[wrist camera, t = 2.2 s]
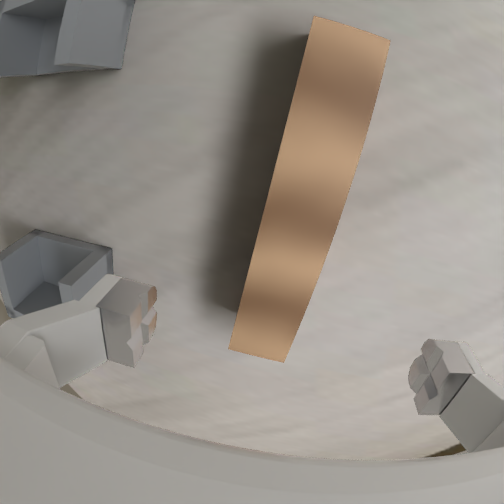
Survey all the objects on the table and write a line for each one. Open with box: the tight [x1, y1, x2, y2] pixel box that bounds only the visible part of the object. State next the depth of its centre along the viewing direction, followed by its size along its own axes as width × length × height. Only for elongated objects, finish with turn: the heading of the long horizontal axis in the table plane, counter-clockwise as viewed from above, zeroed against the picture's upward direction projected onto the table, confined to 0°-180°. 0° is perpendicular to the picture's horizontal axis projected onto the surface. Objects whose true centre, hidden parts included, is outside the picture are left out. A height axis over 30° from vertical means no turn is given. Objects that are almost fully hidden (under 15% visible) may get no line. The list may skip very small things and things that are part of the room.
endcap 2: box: [0, 229, 113, 318], centre depth 23 cm, size 6×9×6 cm, turn 81°
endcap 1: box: [0, 0, 135, 78], centre depth 14 cm, size 6×9×6 cm, turn 80°
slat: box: [228, 16, 390, 363], centre depth 19 cm, size 21×4×4 cm, turn 167°
